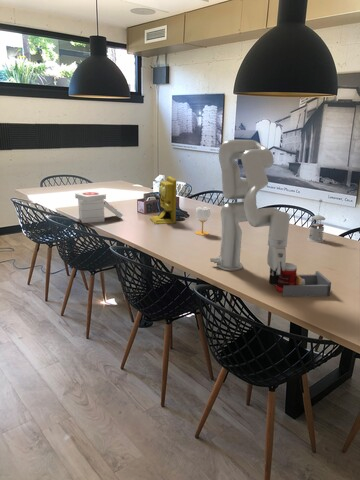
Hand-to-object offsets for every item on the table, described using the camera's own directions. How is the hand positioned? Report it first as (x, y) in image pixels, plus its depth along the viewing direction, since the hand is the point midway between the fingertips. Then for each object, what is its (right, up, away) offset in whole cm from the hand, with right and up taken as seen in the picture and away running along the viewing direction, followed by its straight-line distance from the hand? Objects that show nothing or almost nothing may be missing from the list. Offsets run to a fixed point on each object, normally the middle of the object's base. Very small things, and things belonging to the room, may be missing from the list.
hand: (273, 283), depth 165 cm
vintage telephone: (-52, +32, +110) cm, 126 cm away
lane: (+12, -3, +2) cm, 13 cm away
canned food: (+5, -3, +2) cm, 6 cm away
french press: (+44, +18, +75) cm, 88 cm away
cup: (-25, +22, +82) cm, 88 cm away
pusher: (+11, -3, +2) cm, 12 cm away
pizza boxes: (-96, +33, +110) cm, 149 cm away
